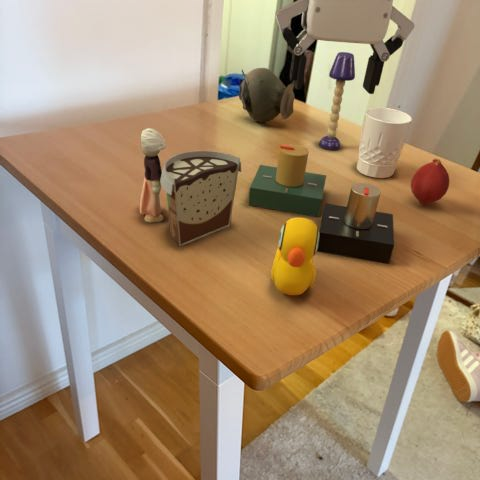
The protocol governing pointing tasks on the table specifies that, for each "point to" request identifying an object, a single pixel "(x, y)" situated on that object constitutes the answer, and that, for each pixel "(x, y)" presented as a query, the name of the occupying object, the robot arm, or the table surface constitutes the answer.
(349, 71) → the toy lamp
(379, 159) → the white cup
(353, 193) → the dial
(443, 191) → the onion
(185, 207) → the food container
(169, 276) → the table surface
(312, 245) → the duckling
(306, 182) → the panel
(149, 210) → the grandmother figurine
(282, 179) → the dial
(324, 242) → the panel
